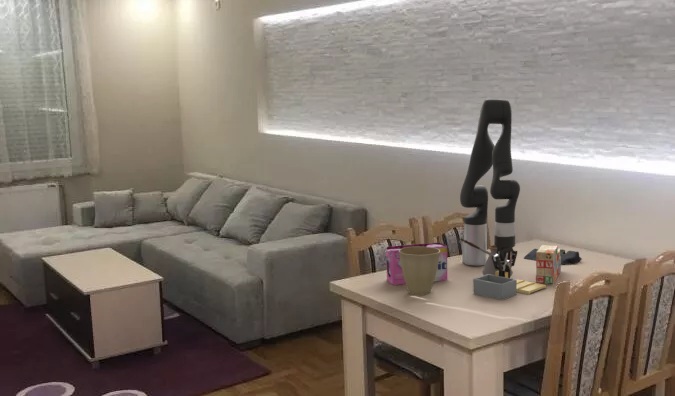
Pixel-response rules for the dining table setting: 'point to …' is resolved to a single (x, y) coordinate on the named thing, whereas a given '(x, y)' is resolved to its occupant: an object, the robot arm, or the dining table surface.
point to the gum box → (395, 267)
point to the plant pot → (419, 268)
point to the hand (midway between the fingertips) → (504, 279)
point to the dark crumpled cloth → (565, 257)
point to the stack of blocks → (548, 264)
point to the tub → (494, 286)
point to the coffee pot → (489, 264)
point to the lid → (525, 285)
